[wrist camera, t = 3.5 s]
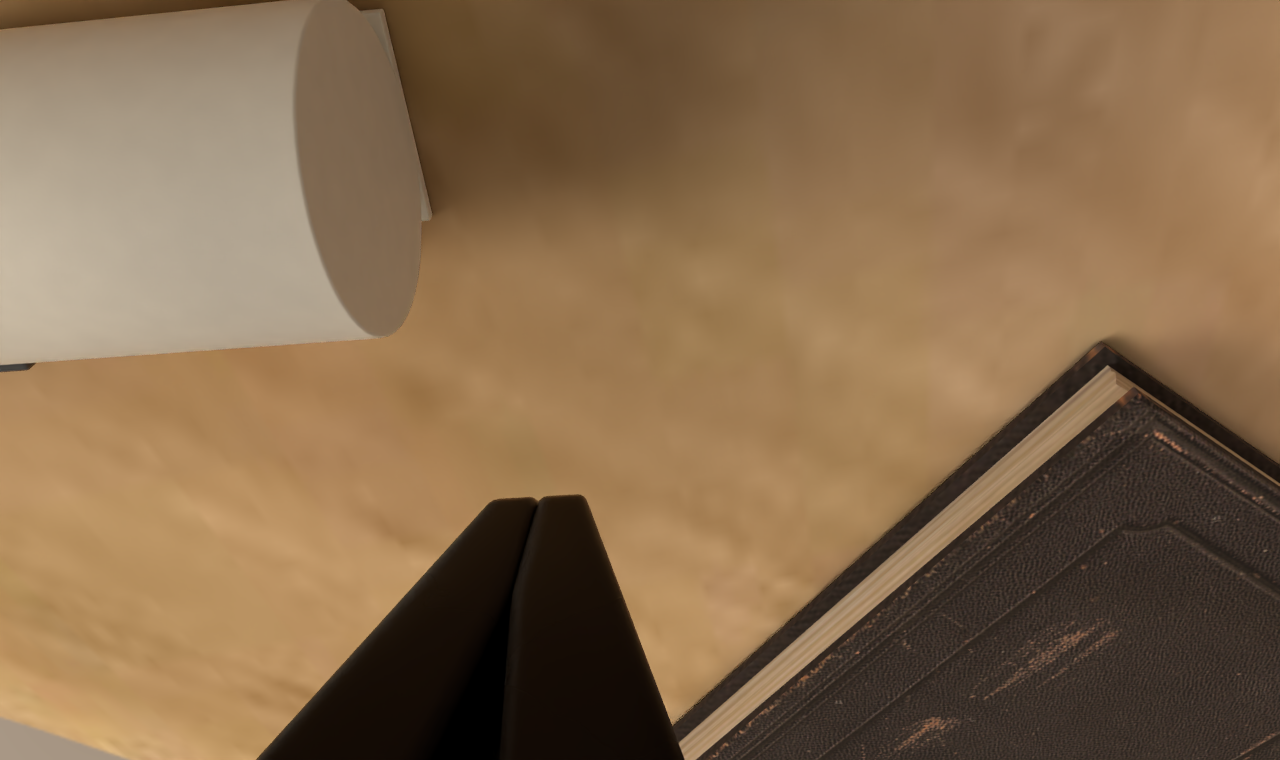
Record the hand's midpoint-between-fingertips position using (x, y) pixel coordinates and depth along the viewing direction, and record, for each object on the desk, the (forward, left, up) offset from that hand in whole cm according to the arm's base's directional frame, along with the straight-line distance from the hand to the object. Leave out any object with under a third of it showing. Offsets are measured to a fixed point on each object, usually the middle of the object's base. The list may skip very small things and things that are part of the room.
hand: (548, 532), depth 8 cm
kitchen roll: (+9, +3, -10) cm, 14 cm away
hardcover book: (-16, +16, -13) cm, 26 cm away
